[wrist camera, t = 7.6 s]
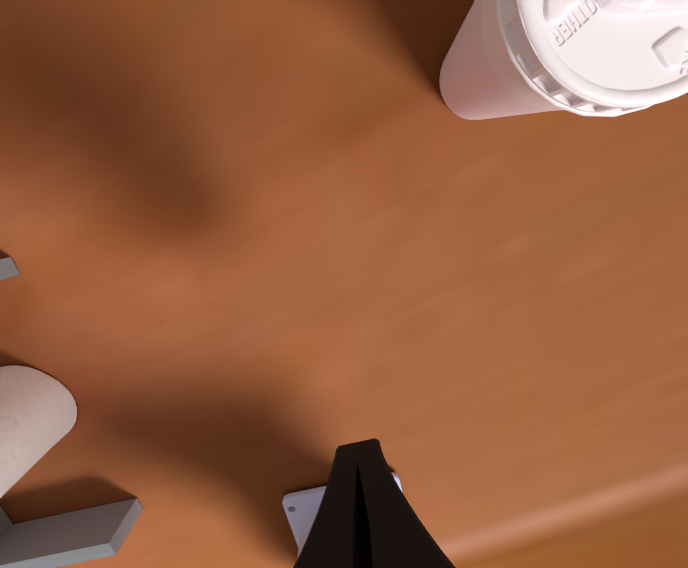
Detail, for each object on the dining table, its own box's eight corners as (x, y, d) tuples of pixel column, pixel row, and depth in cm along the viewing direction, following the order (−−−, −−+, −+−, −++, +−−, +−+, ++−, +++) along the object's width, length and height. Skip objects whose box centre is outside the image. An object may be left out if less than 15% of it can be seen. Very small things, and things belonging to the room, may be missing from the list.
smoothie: (451, -29, 15) (1357, -1658, 2) (569, 38, 16) (1774, -695, 3) (389, 115, 17) (615, -157, 3) (500, 170, 18) (1032, 128, 4)
